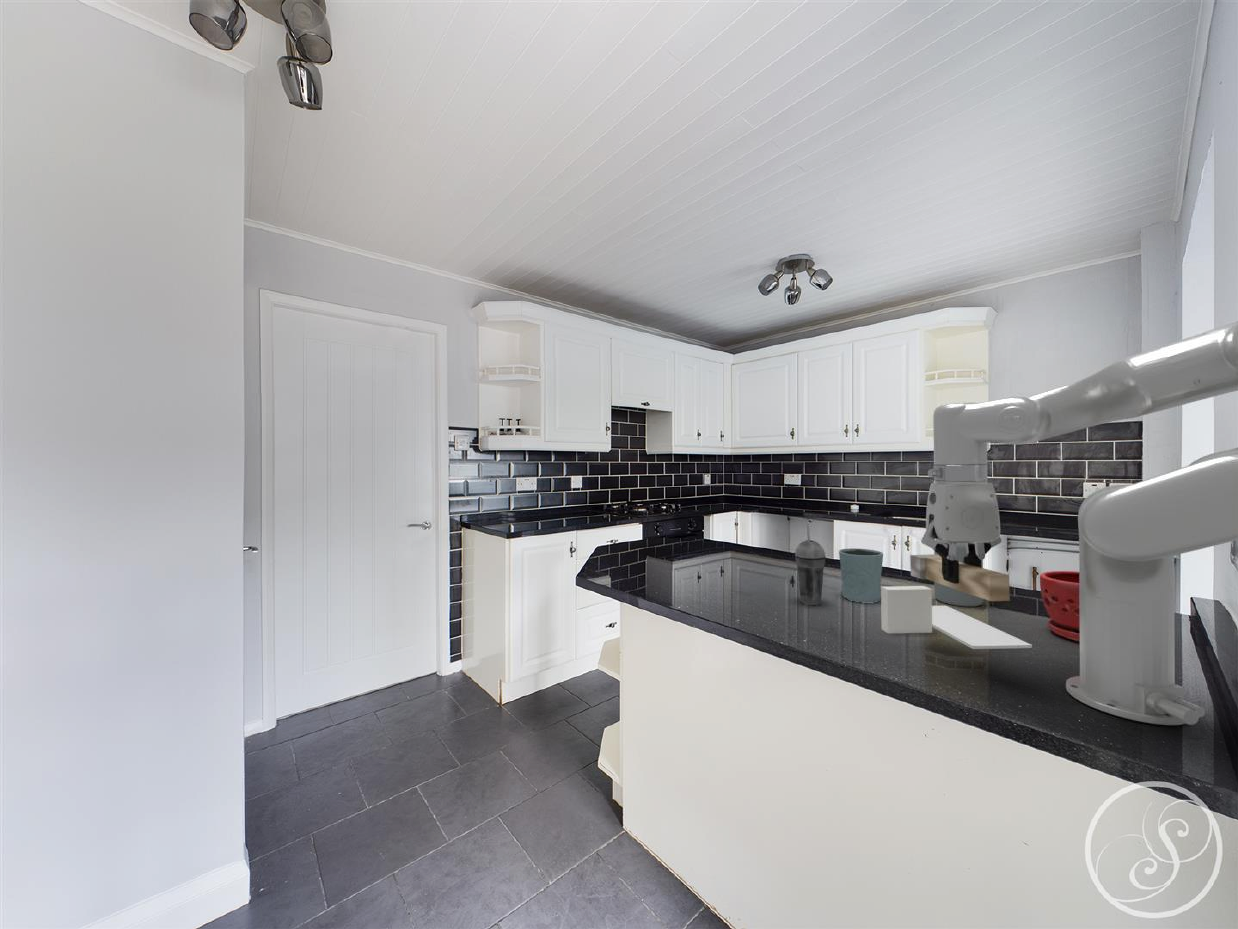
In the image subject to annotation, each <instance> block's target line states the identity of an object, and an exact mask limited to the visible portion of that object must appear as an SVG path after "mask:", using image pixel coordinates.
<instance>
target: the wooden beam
mask: <svg viewBox="0 0 1238 929" xmlns="http://www.w3.org/2000/svg"><path fill="white" fill-rule="evenodd" d="M909 559H910V560H909V561H910V576H911V577H915V578H917V579H919V580H920V579H921V580H923V579H924V580H928V581H932V582H934V583H935V582H936V583H939V584H942V585H945V586H948V587H951V588H954V589H957V590H959V591H962V592H965V593H968V594H971V595H974V596H977V597H980V598H982V599H983V600H986V601H989V602H1010V601H1011V598H1010V576H1009V574H1005V573H1003V572H999V571H995V570H991V569H988V568H984V567H983V568H980V567H976V566H972V565H968V564H965V563H961V562H959V583H958V584H954V583H951V582H948V581H946V580H944V579H943V575H942V557H939V556H938V555H936V554H934V553H931V554H910V555H909Z"/></svg>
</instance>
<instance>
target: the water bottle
mask: <svg viewBox="0 0 1238 929" xmlns="http://www.w3.org/2000/svg"><path fill="white" fill-rule="evenodd" d="M935 541H936V542H938V543H939V539H935ZM933 554H936V555H938V553H936V552H935V551H934V550H933ZM964 556H967V551H966V543H957V544H956V557H955V560H958V561H959V562H961V563H964ZM983 561H984V559H983V560H981V568H984V567H983V566H984V562H983ZM934 598H935V599H936V600H937V601H939V602H942V603H944V604H946V603H947V604H946V605H950V606H956V607H957V606H958V607H963V608H964V607H965V608H969V607H970V608H971V607H972V608H973V607H978V606H981V605H982V604H983V603H984V599H982V598H980V597H977V596H974V595H971V594H968V593H965V592H962V591H959V590H957V589H954V588H951V587H948V586H945V585H942V584H939V583H936V582H934Z"/></svg>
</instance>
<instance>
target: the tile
mask: <svg viewBox="0 0 1238 929" xmlns="http://www.w3.org/2000/svg"><path fill="white" fill-rule="evenodd" d="M880 587H881V597H880V602H881V603H880V604H881V605H880V609H881V611H880V613H881V614H880V616H881V630H882V631H884V632H885V633H887V634H889V635H890V634H926V633H927V634H932V633H933V627H932V606H933V592H932V591H933V589H932V588H930V587H927V586H925V585H909V586H908V585H902V586H880Z"/></svg>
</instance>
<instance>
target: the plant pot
mask: <svg viewBox="0 0 1238 929" xmlns="http://www.w3.org/2000/svg"><path fill="white" fill-rule="evenodd" d="M1039 588H1040V594H1041V598H1042V603H1043V605H1044V608H1045V611H1046V613H1047V614H1048V615H1049V617H1050V620H1048V621H1047V625H1048V628H1049V629H1050V630H1051V631H1052V632H1053V633H1054V634H1057V635H1058V636H1061V637H1063V638H1066V639H1069V640H1071V641H1075V642H1077V643H1080V605H1079V590H1080V581H1079V571H1074V570H1071V571H1070V570H1056V571H1055V570H1054V571H1051V570H1050V571H1045V572H1042V573H1040V575H1039Z"/></svg>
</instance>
